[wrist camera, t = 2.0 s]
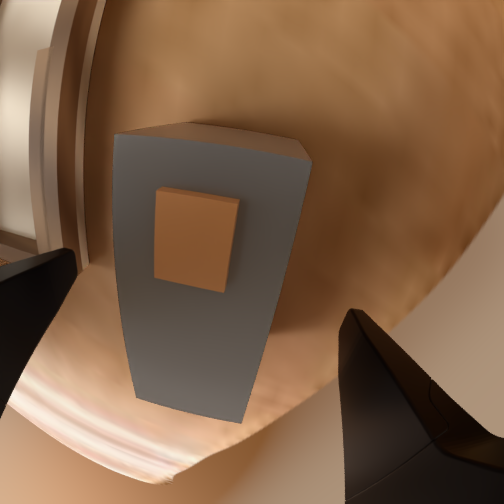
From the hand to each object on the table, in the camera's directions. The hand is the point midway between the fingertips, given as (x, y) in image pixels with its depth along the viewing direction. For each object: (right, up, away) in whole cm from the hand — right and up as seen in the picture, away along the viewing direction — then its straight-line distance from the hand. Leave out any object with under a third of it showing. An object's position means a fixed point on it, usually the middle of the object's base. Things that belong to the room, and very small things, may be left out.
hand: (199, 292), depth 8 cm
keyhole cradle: (-9, +10, 0) cm, 14 cm away
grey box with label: (0, +2, +3) cm, 4 cm away
